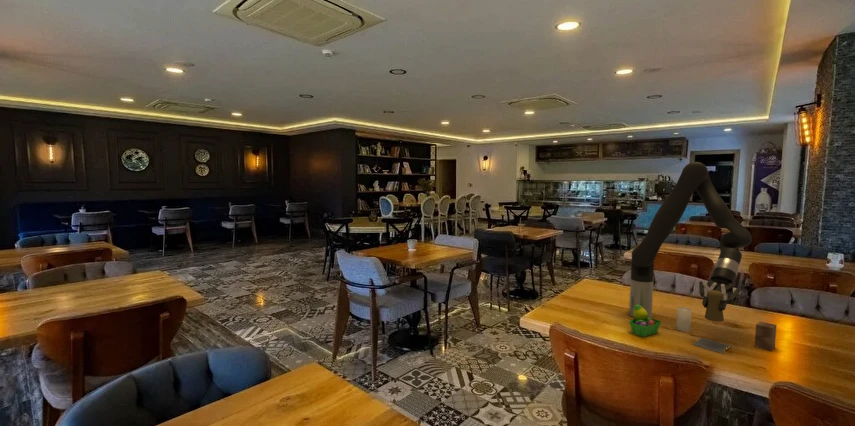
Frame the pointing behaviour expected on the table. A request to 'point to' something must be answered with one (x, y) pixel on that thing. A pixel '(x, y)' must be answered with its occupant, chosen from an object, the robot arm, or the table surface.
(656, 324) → the fruit basket
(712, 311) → the cork
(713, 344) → the grey flat sheet
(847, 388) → the table surface
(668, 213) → the robot arm
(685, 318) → the cream block
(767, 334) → the walnut block
